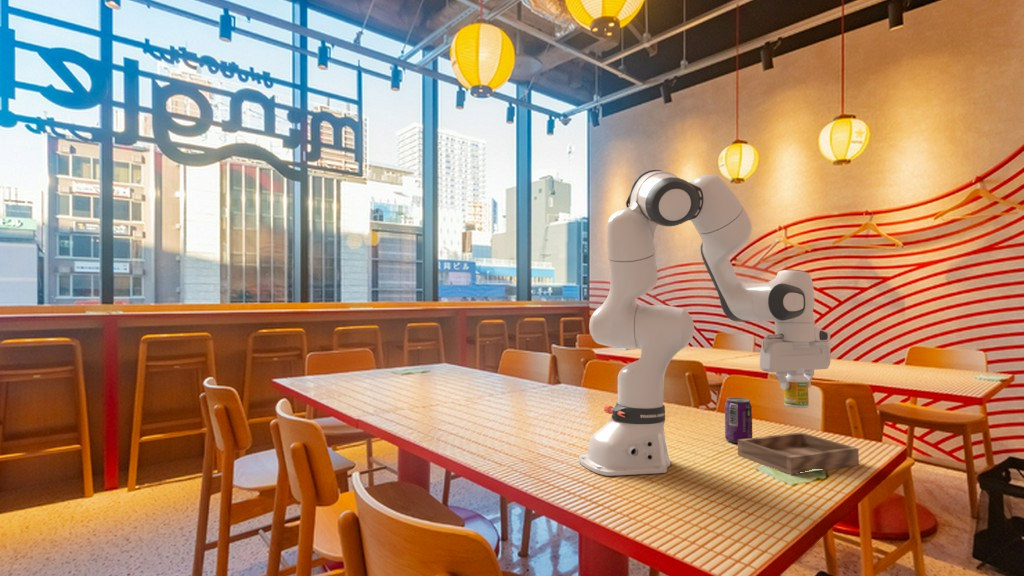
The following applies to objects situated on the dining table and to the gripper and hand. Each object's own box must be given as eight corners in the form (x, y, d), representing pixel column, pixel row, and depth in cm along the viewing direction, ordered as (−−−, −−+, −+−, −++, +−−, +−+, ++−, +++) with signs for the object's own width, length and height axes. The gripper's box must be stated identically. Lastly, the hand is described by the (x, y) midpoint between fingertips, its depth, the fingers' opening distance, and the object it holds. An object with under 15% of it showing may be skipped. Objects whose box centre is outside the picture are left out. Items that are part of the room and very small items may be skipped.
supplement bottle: (800, 409, 122) (799, 369, 122) (779, 405, 126) (778, 367, 127) (813, 407, 124) (812, 368, 124) (792, 403, 129) (791, 365, 129)
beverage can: (757, 445, 138) (756, 401, 138) (731, 445, 138) (730, 401, 138) (745, 438, 145) (745, 397, 145) (721, 438, 145) (720, 397, 146)
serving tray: (791, 475, 114) (791, 457, 114) (737, 455, 129) (737, 439, 129) (858, 464, 121) (858, 448, 121) (800, 447, 136) (800, 432, 136)
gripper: (773, 335, 119) (774, 393, 119) (835, 333, 126) (836, 388, 126) (752, 333, 125) (753, 388, 125) (812, 332, 132) (813, 384, 132)
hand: (795, 388), depth 125 cm, fingers closed on supplement bottle, 5 cm apart
